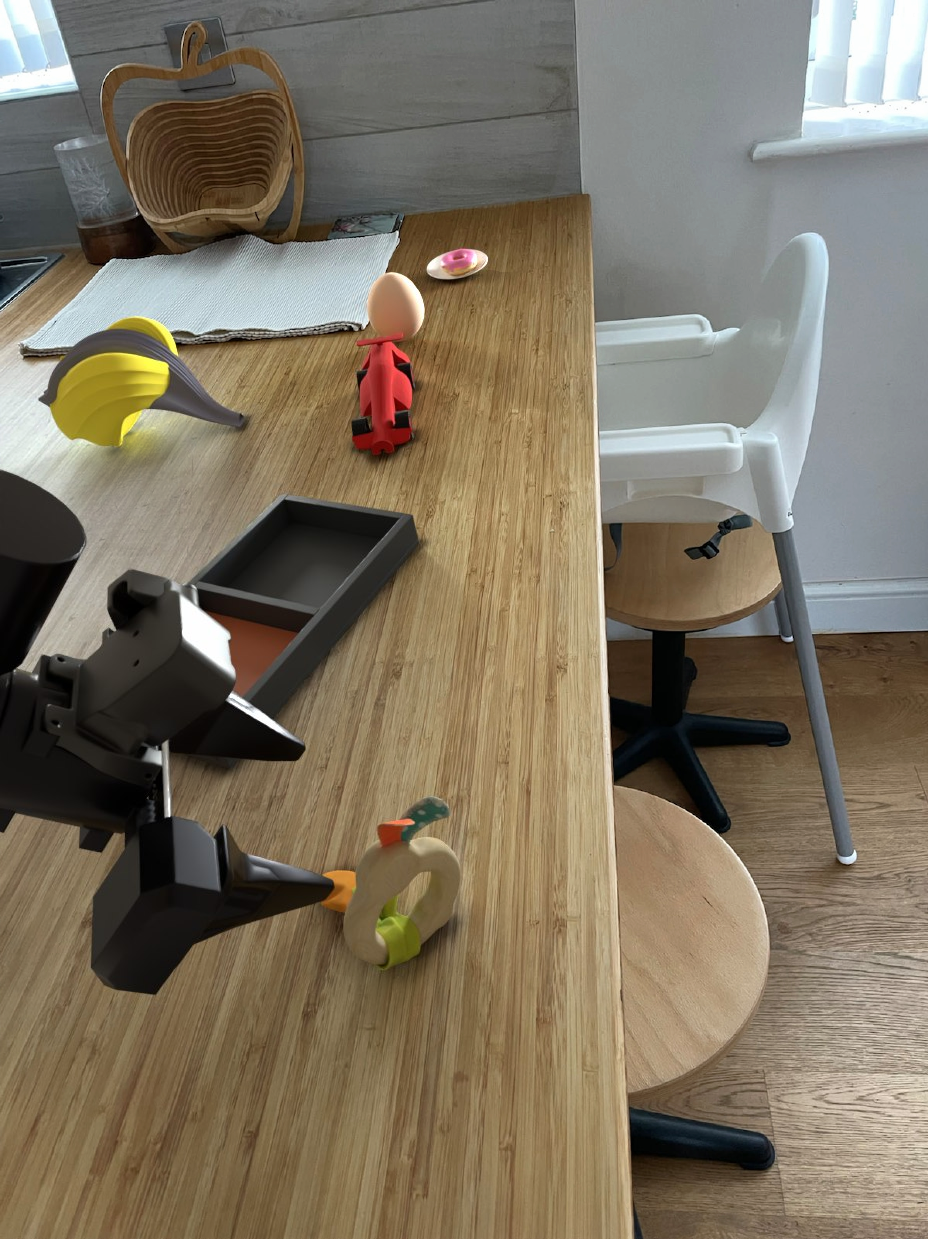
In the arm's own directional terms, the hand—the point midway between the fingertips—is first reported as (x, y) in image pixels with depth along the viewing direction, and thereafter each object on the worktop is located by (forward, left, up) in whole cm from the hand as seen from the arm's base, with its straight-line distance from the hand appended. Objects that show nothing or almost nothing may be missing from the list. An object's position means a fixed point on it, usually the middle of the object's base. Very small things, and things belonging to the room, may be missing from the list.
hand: (315, 816), depth 48 cm
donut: (+92, +41, -10) cm, 101 cm away
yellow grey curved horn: (+44, +54, -10) cm, 70 cm away
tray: (+20, +21, -9) cm, 31 cm away
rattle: (+2, -2, -10) cm, 10 cm away
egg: (+70, +37, -10) cm, 79 cm away
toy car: (+53, +29, -10) cm, 61 cm away
